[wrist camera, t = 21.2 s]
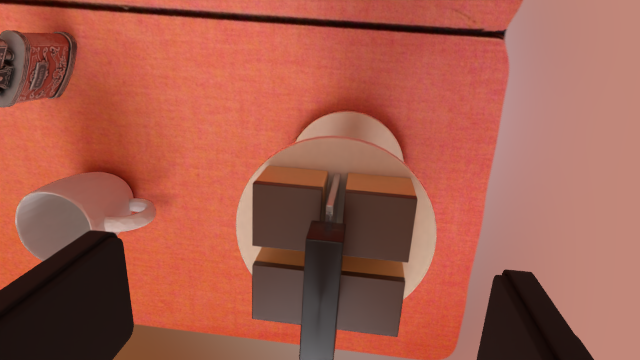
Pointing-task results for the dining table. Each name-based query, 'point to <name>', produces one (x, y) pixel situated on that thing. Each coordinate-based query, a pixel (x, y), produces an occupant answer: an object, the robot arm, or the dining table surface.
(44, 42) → the lighter
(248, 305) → the dining table surface
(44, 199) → the mug
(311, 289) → the knife
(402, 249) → the cake
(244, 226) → the cake stand
